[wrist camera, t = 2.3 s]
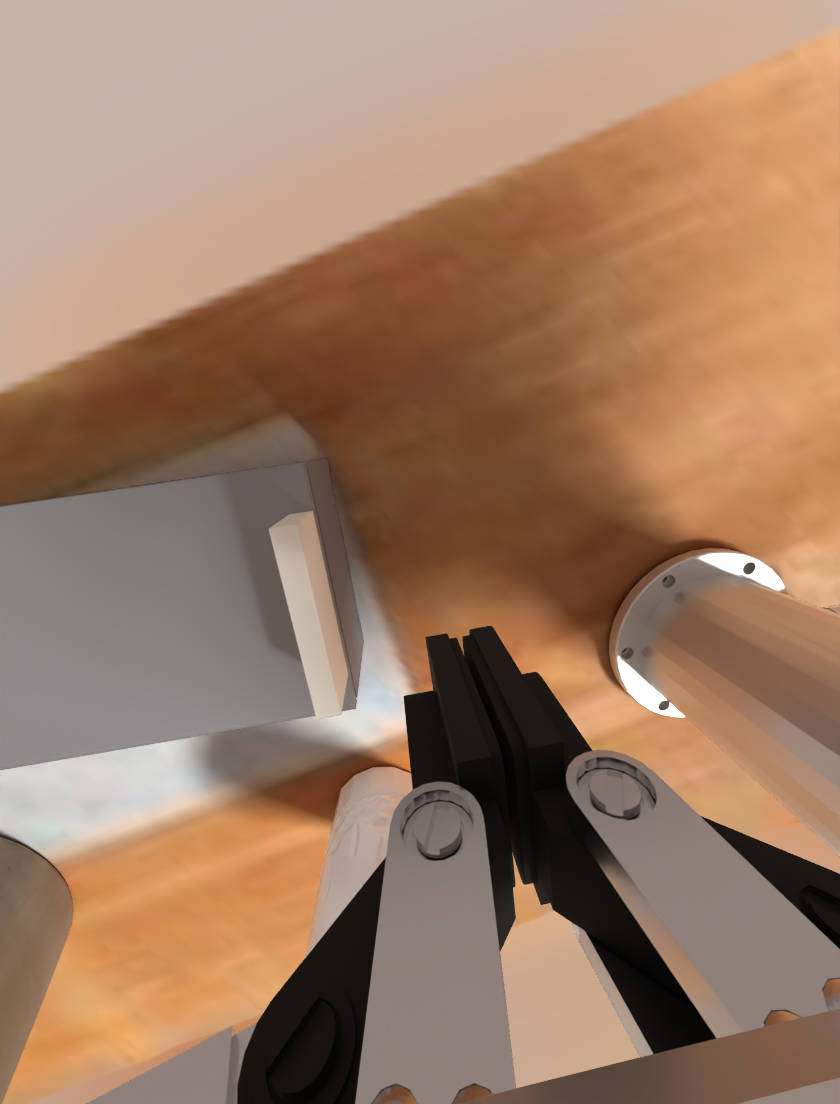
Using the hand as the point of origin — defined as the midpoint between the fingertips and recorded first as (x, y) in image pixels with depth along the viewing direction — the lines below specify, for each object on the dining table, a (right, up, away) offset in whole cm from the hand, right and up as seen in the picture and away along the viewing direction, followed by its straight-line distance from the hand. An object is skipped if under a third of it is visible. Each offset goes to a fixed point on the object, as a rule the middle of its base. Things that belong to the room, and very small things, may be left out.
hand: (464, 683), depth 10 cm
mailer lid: (-15, 0, +8) cm, 17 cm away
